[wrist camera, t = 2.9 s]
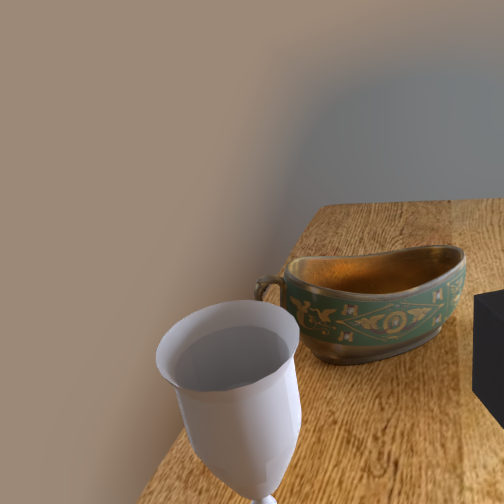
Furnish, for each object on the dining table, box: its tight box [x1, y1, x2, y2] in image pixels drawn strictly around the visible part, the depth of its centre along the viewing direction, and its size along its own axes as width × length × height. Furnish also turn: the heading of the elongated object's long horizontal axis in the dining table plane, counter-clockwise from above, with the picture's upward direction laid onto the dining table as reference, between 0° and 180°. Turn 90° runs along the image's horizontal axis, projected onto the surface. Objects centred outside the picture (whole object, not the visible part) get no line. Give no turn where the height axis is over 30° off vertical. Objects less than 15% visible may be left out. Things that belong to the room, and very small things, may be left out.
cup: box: [254, 245, 466, 365], centre depth 49 cm, size 13×20×10 cm, turn 72°
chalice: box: [156, 300, 301, 504], centre depth 25 cm, size 7×7×18 cm
